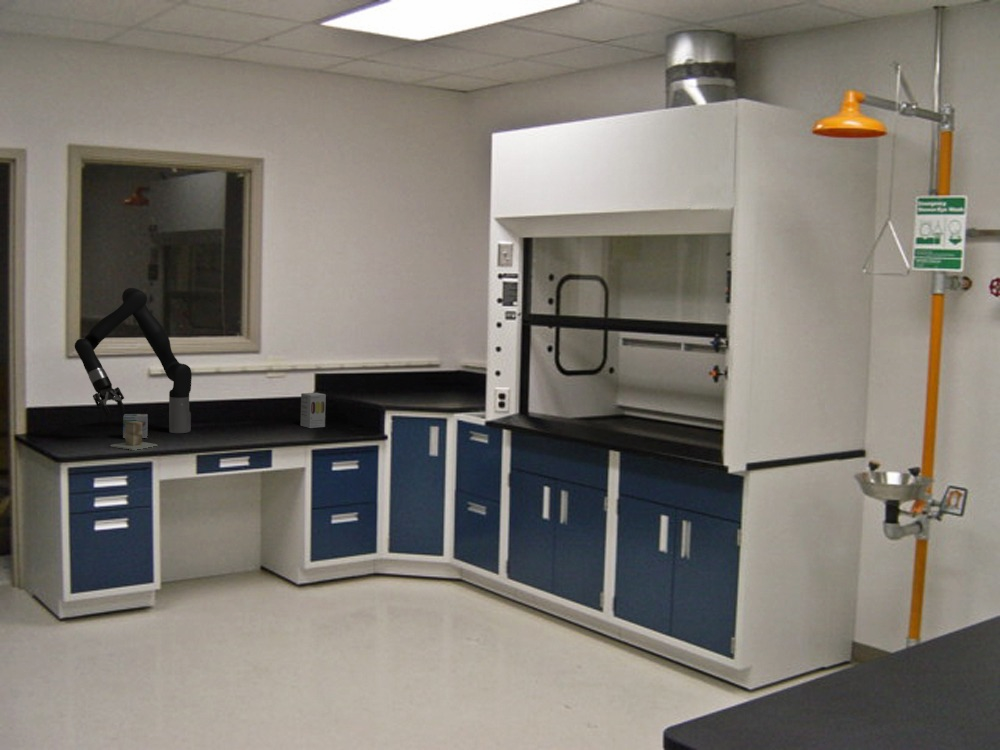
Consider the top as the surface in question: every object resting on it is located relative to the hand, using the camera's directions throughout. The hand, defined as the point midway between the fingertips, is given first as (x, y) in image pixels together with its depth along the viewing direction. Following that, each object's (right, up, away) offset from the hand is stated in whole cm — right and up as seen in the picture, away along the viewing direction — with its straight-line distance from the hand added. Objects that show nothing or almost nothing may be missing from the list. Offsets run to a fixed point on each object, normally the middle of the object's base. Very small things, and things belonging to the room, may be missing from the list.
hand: (115, 411), depth 486 cm
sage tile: (+11, -15, -8) cm, 21 cm away
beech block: (+11, -14, -8) cm, 20 cm away
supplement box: (+78, -10, +64) cm, 101 cm away
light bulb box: (+4, -13, +14) cm, 19 cm away
